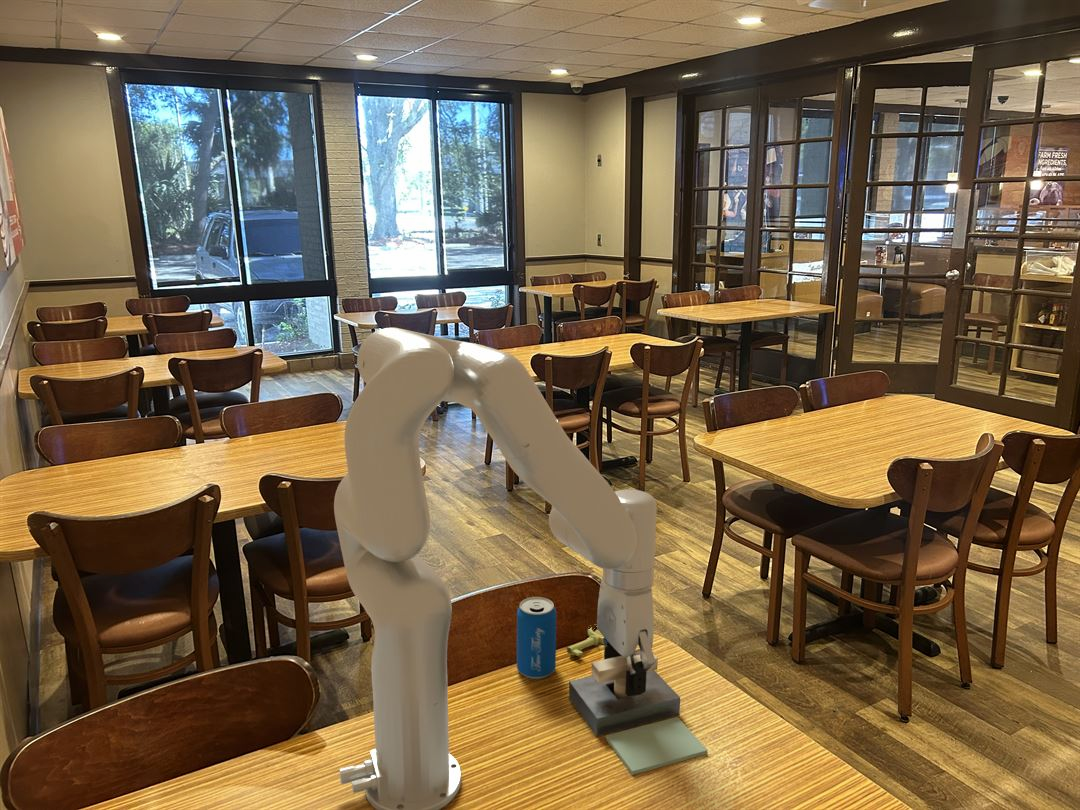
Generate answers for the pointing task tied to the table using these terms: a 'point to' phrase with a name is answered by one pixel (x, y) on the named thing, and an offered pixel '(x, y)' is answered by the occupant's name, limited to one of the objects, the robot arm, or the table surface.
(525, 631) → the beverage can
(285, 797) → the table surface
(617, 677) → the t key
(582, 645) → the key
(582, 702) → the lock housing
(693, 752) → the mat
